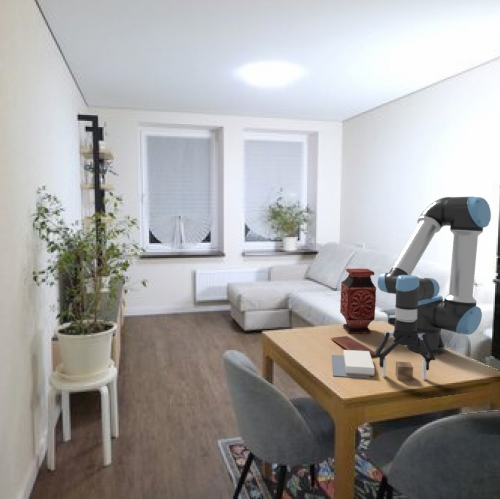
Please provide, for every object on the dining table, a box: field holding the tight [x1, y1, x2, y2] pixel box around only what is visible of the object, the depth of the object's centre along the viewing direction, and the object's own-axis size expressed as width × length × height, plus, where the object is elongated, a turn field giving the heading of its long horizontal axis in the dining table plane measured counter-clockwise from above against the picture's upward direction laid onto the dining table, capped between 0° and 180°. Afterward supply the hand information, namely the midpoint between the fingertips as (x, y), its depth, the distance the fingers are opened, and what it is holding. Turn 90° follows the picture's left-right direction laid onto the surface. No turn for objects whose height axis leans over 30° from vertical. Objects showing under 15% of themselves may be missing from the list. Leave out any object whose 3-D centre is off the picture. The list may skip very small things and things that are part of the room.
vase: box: [339, 268, 377, 335], centre depth 213 cm, size 14×14×30 cm
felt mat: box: [331, 354, 371, 379], centre depth 167 cm, size 13×22×1 cm, turn 171°
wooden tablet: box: [331, 335, 375, 357], centre depth 189 cm, size 27×10×2 cm, turn 12°
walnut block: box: [395, 361, 414, 382], centre depth 156 cm, size 5×5×5 cm
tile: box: [342, 349, 376, 377], centre depth 167 cm, size 3×18×10 cm
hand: (403, 377), depth 156 cm, fingers open, 13 cm apart
